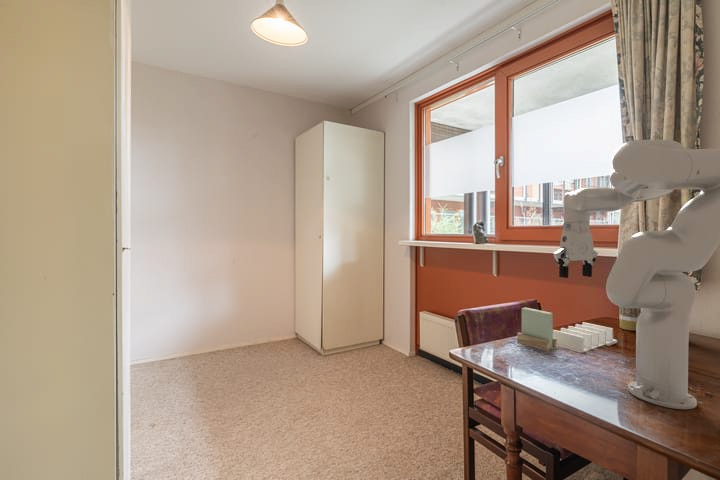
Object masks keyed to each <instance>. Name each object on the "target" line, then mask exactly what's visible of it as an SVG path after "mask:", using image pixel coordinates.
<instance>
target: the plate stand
mask: <svg viewBox="0 0 720 480" xmlns="http://www.w3.org/2000/svg"><path fill="white" fill-rule="evenodd" d="M516 335H517V336H516V342H517V343H519V344H524V345H526V346H530V347H534V348H537V349H540V350H541V351H542V350H543V351H546V352H548V351H551V350H555V349H559V348H560V347H559V346H557V338H553V340H552V348H549V341H548V340H544V339H541V338H537V337H534V336H530V335H527V334H523V333H521V332H517V333H516Z"/></svg>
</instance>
